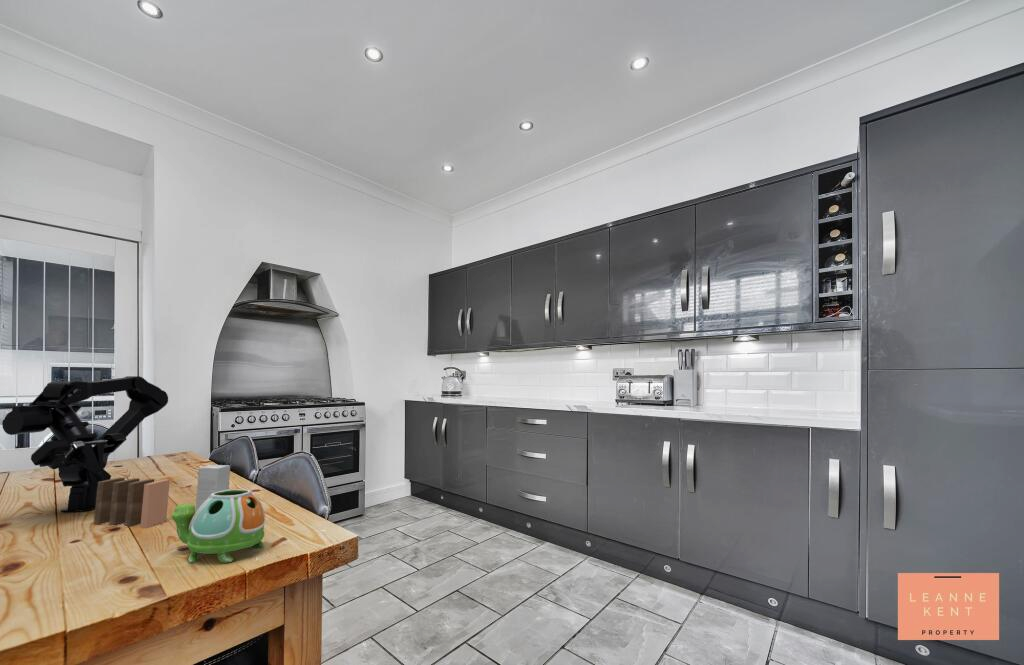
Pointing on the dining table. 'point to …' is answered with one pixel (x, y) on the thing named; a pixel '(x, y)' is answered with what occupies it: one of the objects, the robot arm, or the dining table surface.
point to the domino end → (154, 503)
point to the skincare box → (211, 481)
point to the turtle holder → (221, 524)
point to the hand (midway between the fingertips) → (99, 472)
